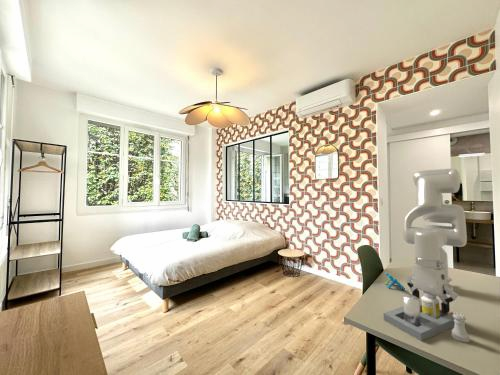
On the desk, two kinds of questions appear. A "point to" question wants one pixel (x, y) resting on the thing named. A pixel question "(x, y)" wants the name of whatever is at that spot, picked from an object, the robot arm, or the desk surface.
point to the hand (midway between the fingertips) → (430, 306)
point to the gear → (392, 281)
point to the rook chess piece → (460, 328)
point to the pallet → (430, 324)
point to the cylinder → (412, 310)
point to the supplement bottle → (430, 305)
